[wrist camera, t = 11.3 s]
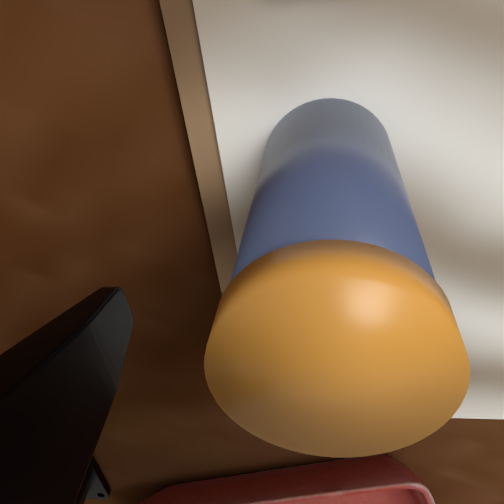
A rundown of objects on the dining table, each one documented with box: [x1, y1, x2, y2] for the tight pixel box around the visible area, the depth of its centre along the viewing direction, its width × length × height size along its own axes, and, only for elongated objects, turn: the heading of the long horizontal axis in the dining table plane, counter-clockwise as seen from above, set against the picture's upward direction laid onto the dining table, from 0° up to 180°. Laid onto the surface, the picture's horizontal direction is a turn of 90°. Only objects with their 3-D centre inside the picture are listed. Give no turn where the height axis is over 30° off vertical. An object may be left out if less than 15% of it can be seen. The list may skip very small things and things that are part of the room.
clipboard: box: [159, 0, 504, 419], centre depth 16 cm, size 20×15×2 cm
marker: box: [204, 98, 470, 458], centre depth 11 cm, size 4×4×9 cm
